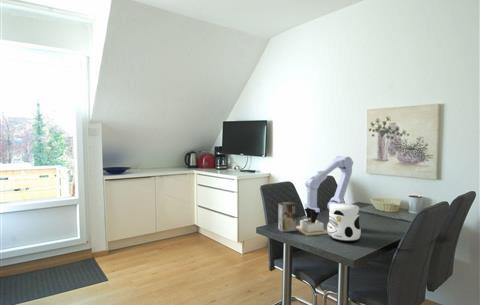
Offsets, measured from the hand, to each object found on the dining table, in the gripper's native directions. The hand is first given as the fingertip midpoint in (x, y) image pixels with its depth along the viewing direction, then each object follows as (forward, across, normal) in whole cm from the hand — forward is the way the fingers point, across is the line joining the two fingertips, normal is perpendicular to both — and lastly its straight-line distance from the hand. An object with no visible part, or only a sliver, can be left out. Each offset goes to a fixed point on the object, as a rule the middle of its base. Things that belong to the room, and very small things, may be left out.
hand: (311, 221), depth 183 cm
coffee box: (+5, -4, -14) cm, 16 cm away
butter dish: (+5, 0, 0) cm, 5 cm away
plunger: (+4, 0, 0) cm, 4 cm away
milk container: (+5, +18, +9) cm, 21 cm away
